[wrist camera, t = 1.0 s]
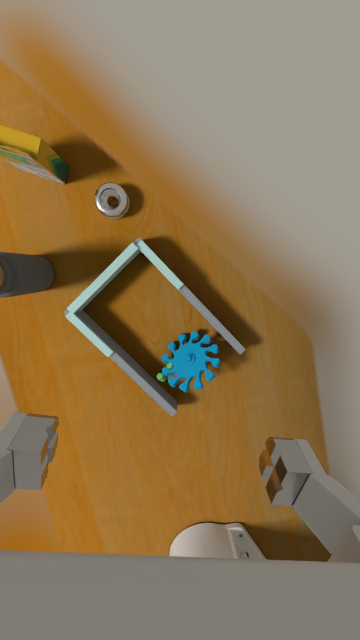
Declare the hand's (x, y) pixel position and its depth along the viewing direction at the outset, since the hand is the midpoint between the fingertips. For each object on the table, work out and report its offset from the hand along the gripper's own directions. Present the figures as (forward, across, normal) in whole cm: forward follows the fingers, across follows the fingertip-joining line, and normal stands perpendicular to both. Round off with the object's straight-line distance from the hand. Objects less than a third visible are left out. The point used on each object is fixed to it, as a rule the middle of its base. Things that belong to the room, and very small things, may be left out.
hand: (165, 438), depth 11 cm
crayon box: (+44, -19, +7) cm, 49 cm away
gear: (+35, +7, -18) cm, 40 cm away
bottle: (+40, -19, -9) cm, 45 cm away
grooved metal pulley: (+43, -8, +4) cm, 44 cm away
